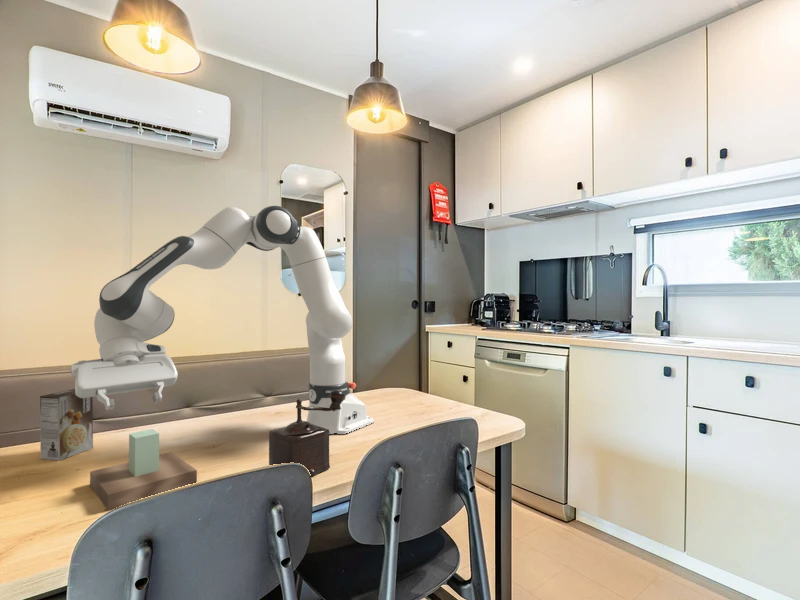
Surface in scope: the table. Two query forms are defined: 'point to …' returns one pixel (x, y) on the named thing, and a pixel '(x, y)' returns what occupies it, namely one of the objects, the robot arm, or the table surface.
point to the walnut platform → (140, 481)
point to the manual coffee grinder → (304, 439)
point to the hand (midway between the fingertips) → (135, 404)
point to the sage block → (143, 452)
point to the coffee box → (65, 425)
